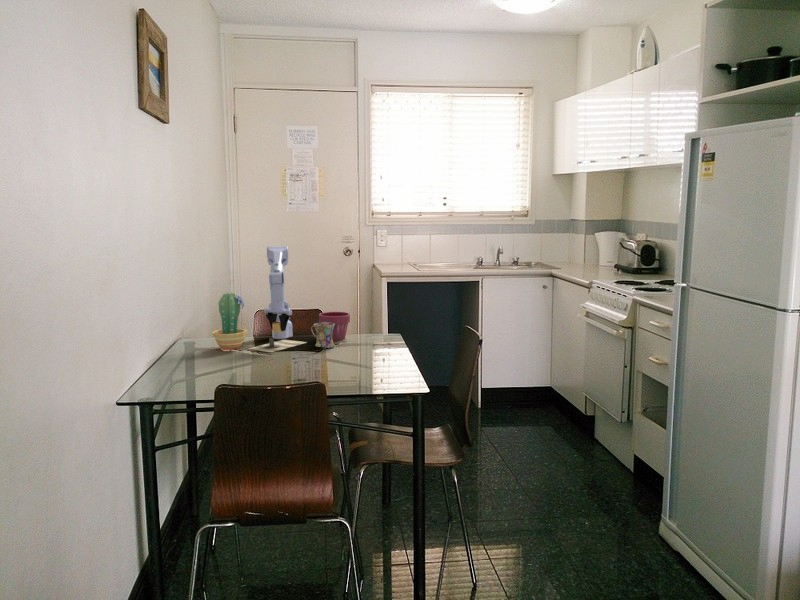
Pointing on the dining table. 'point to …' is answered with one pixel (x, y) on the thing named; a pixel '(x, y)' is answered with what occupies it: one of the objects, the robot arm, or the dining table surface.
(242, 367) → the dining table surface
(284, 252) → the robot arm
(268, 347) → the post board
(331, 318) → the plant pot
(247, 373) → the dining table surface
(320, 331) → the mug
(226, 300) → the potted cactus
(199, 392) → the dining table surface
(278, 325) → the brass collar
